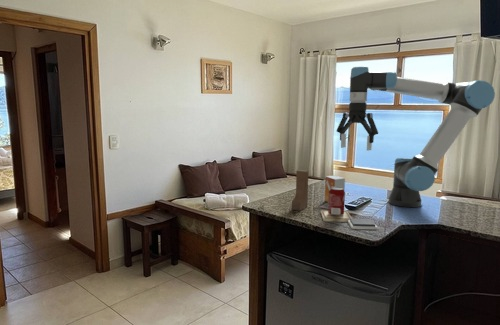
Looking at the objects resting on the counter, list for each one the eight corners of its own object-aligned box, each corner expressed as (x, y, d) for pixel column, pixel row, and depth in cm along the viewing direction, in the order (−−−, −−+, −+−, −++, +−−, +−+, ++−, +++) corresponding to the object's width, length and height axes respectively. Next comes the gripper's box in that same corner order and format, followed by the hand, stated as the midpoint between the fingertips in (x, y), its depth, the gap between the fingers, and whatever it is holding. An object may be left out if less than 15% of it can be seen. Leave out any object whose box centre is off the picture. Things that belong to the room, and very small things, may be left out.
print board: (347, 213, 162) (347, 210, 161) (352, 222, 150) (352, 218, 150) (320, 212, 163) (320, 209, 162) (323, 221, 151) (323, 218, 150)
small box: (324, 201, 182) (325, 176, 180) (334, 199, 185) (335, 175, 183) (333, 205, 175) (334, 179, 173) (344, 203, 178) (345, 178, 175)
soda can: (341, 217, 151) (342, 190, 149) (325, 215, 155) (326, 188, 153) (345, 213, 157) (347, 187, 155) (331, 211, 161) (332, 185, 159)
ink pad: (372, 222, 149) (372, 218, 148) (377, 229, 141) (377, 225, 141) (347, 222, 149) (348, 218, 149) (351, 228, 142) (352, 224, 141)
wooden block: (300, 211, 165) (301, 173, 162) (291, 209, 167) (292, 172, 164) (307, 206, 172) (308, 170, 169) (299, 205, 175) (300, 169, 172)
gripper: (330, 102, 167) (328, 147, 171) (379, 101, 149) (376, 152, 152) (339, 102, 172) (337, 145, 176) (388, 102, 154) (385, 150, 157)
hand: (355, 148), depth 164 cm, fingers open, 13 cm apart
